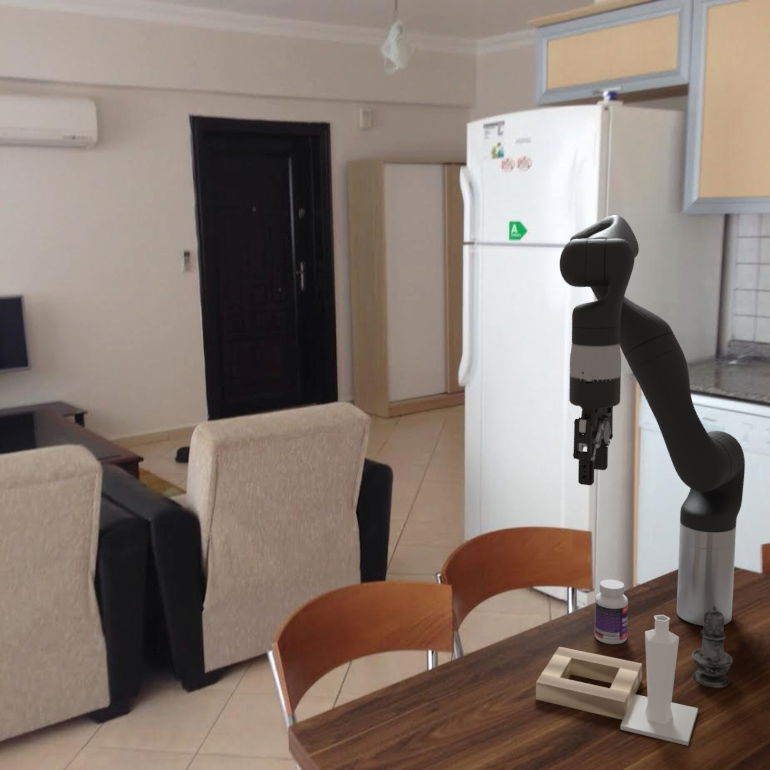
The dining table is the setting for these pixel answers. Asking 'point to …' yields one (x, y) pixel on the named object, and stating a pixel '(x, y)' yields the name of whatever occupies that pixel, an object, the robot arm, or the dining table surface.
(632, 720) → the coaster
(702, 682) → the black chess piece
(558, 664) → the frame
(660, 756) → the dining table surface
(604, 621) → the pill bottle
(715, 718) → the dining table surface
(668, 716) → the white vase
